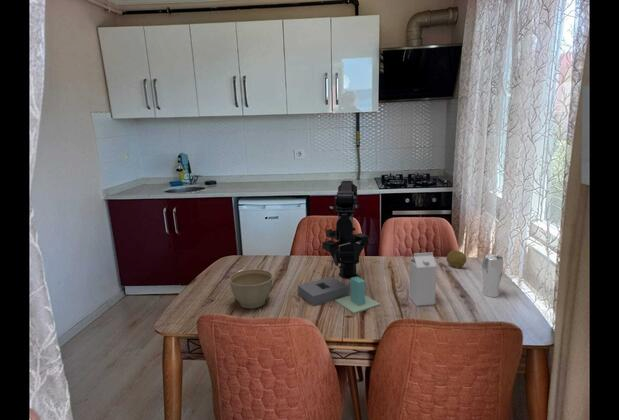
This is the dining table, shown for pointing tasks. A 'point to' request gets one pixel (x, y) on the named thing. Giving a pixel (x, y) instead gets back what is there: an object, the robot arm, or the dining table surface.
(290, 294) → the dining table surface
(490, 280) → the silver can
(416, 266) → the milk carton
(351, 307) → the mat
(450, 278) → the dining table surface
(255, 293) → the planter bowl
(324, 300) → the socket block
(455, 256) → the olive green melon
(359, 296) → the plug
